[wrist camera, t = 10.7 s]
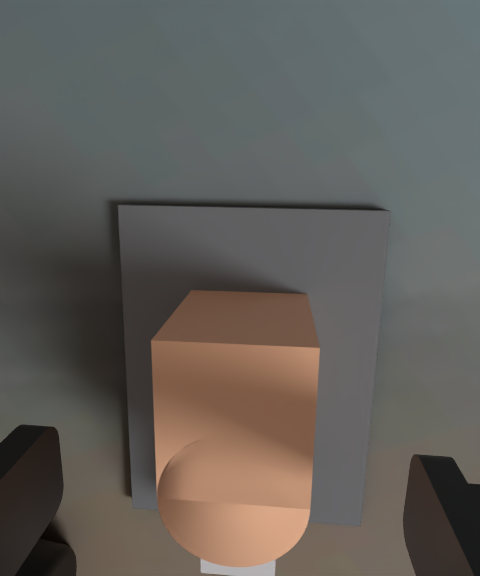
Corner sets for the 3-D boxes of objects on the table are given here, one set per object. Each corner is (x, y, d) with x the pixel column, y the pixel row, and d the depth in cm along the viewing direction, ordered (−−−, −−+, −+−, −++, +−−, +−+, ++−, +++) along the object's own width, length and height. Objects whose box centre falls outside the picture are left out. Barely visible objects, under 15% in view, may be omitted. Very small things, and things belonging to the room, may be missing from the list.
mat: (122, 204, 16) (117, 205, 15) (387, 209, 15) (390, 211, 14) (136, 499, 18) (132, 508, 18) (358, 516, 18) (360, 526, 17)
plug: (191, 290, 16) (151, 340, 11) (307, 294, 15) (319, 347, 10) (194, 503, 18) (161, 627, 13) (296, 511, 17) (302, 641, 12)
